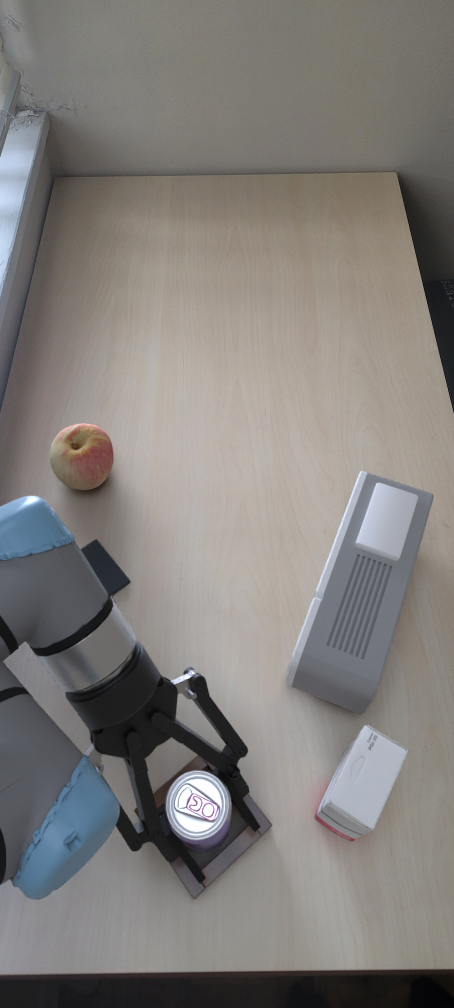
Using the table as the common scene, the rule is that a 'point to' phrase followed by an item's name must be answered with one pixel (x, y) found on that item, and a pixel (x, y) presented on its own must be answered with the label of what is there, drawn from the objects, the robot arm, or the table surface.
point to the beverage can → (199, 810)
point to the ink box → (361, 784)
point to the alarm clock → (360, 594)
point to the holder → (226, 855)
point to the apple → (82, 456)
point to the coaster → (105, 567)
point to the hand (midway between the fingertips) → (224, 846)
